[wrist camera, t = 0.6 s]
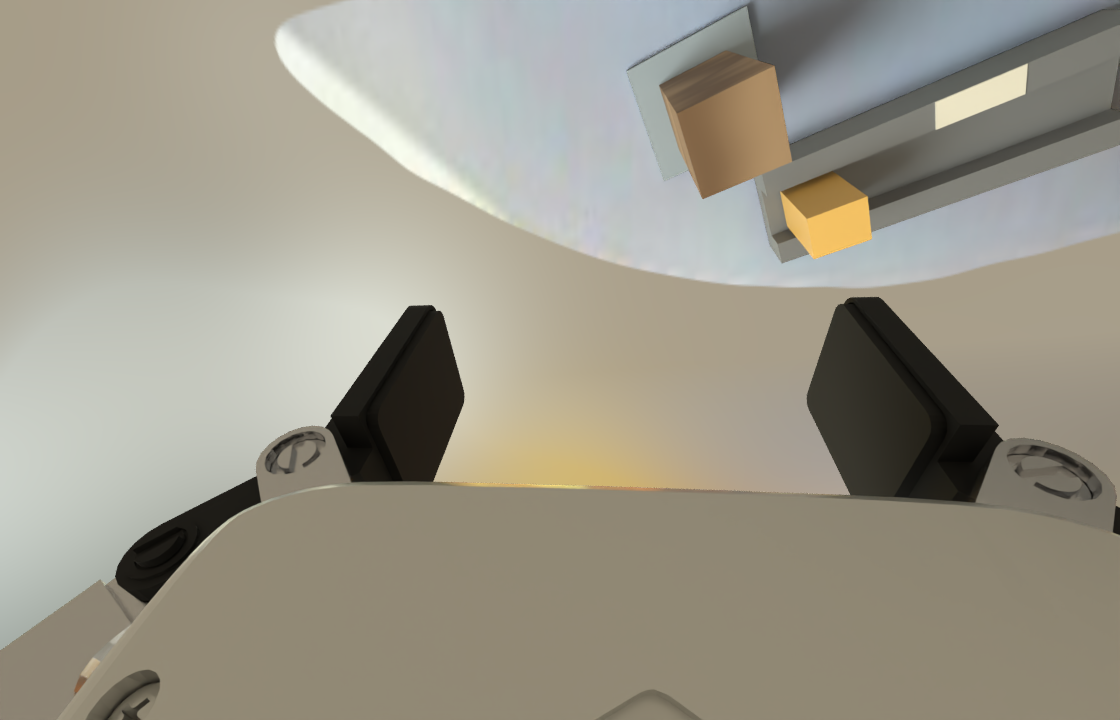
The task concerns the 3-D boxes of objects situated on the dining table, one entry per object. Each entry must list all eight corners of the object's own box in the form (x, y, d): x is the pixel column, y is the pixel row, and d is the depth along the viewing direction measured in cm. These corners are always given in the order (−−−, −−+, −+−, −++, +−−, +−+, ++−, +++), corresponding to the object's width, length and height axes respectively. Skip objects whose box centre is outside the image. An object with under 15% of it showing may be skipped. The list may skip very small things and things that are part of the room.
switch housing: (1102, 9, 24) (1158, 8, 21) (1084, 130, 27) (1131, 141, 25) (750, 161, 30) (762, 174, 27) (769, 245, 33) (782, 263, 31)
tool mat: (744, 6, 25) (746, 5, 25) (770, 131, 29) (772, 133, 28) (626, 70, 28) (626, 71, 27) (663, 179, 31) (664, 181, 31)
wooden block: (726, 50, 26) (774, 65, 18) (742, 120, 28) (792, 161, 20) (658, 85, 27) (676, 113, 20) (678, 149, 29) (702, 199, 22)
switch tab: (830, 169, 28) (867, 196, 24) (835, 207, 29) (872, 239, 25) (779, 190, 29) (806, 219, 25) (787, 226, 30) (814, 259, 26)
